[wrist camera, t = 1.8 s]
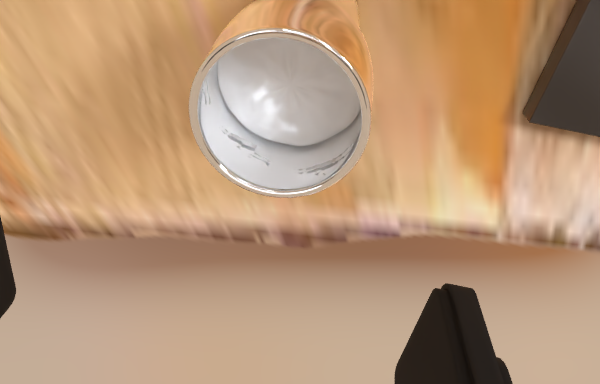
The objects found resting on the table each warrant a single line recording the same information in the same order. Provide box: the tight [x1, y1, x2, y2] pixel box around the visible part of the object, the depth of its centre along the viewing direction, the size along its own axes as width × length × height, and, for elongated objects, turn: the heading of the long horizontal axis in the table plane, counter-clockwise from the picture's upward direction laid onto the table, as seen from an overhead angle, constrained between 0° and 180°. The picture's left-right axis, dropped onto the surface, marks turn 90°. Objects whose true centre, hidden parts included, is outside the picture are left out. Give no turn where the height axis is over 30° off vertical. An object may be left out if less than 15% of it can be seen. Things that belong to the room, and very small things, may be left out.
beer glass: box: [189, 0, 373, 198], centre depth 23 cm, size 7×7×15 cm
